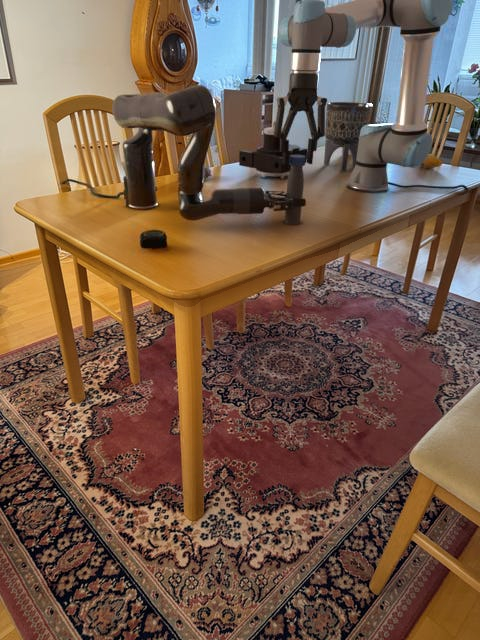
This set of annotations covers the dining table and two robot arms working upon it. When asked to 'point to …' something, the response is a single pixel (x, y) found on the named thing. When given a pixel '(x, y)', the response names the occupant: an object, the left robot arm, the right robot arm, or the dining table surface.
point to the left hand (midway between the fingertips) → (302, 199)
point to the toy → (431, 162)
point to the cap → (297, 160)
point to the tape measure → (153, 239)
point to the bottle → (294, 194)
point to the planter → (345, 129)
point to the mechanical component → (270, 156)
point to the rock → (207, 172)
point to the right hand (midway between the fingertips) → (297, 163)
